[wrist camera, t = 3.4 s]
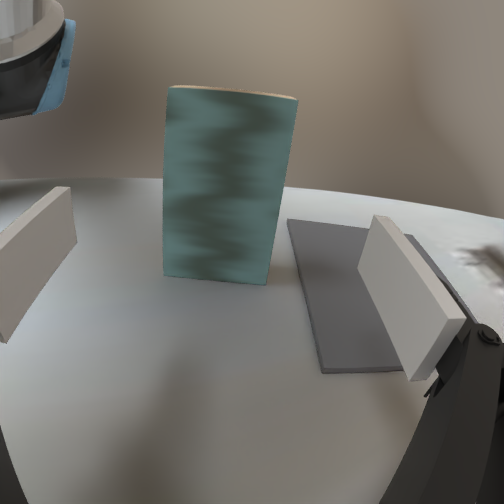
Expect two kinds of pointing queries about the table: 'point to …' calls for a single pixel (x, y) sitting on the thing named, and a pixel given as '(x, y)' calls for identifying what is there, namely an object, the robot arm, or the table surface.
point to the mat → (345, 298)
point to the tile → (223, 181)
